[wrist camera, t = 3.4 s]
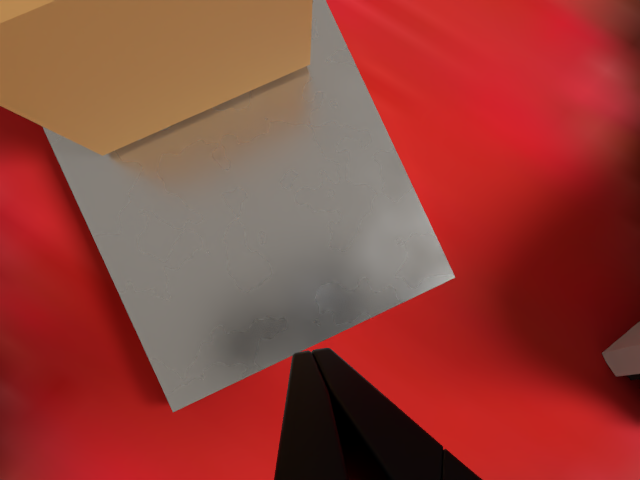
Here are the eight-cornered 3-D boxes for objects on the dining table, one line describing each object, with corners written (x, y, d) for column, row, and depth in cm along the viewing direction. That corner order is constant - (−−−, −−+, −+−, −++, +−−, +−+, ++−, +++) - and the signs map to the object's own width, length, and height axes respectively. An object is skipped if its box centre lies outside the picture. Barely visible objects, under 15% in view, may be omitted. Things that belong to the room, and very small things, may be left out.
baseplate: (447, 276, 20) (519, 287, 13) (179, 404, 19) (114, 483, 13) (239, -170, 20) (208, -376, 14) (-33, -60, 20) (-205, -220, 13)
